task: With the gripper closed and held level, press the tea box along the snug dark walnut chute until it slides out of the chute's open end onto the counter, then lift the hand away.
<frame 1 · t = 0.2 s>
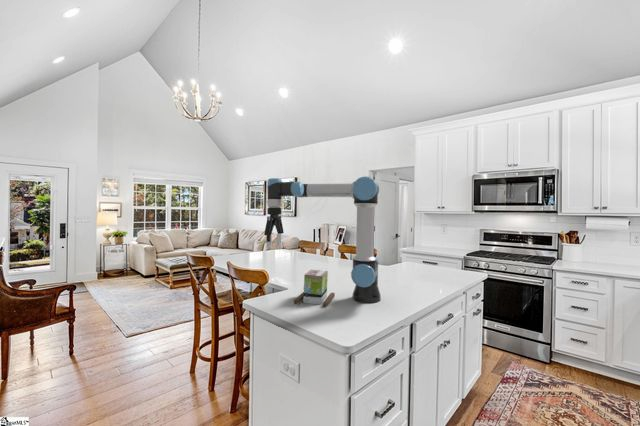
hand: (274, 246, 166), 27 cm above the counter, tool pointing down, fingers open, 13 cm apart
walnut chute: (315, 300, 162), on the counter
tea box: (315, 300, 163), on the counter
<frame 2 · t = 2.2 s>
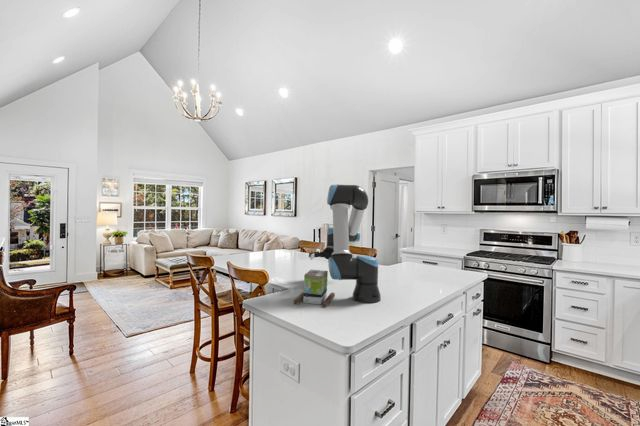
hand: (322, 258, 177), 20 cm above the counter, tool horizontal, fingers open, 13 cm apart
nothing on the counter moved.
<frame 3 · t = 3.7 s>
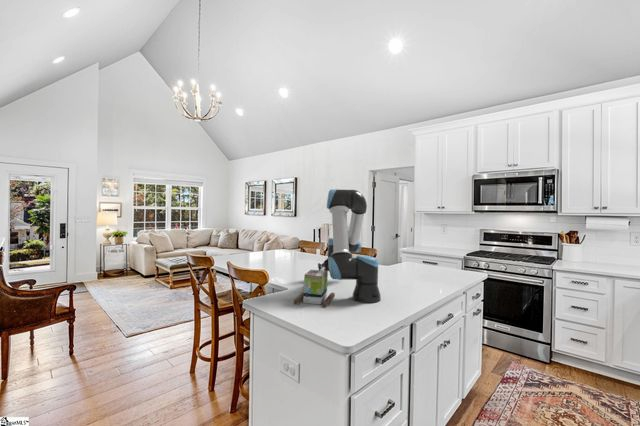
hand: (321, 271, 176), 12 cm above the counter, tool horizontal, fingers closed
nothing on the counter moved.
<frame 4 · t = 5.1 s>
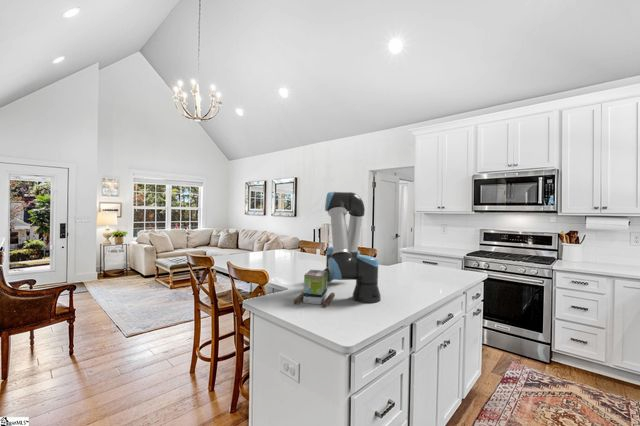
hand: (319, 282, 171), 7 cm above the counter, tool horizontal, fingers closed
tea box: (315, 300, 163), on the counter, touching gripper
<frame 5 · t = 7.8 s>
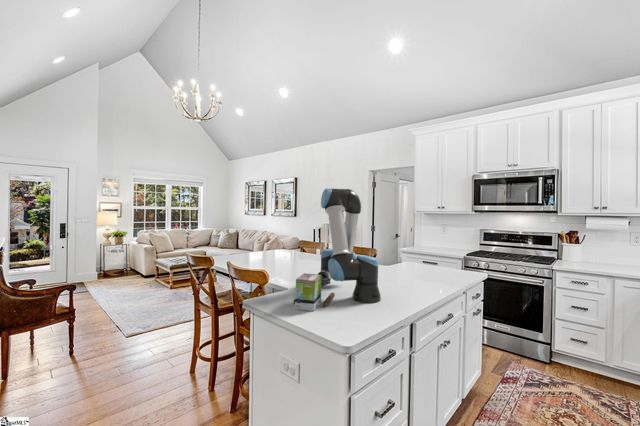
hand: (312, 287, 160), 7 cm above the counter, tool horizontal, fingers closed
tea box: (308, 306, 153), on the counter, touching gripper
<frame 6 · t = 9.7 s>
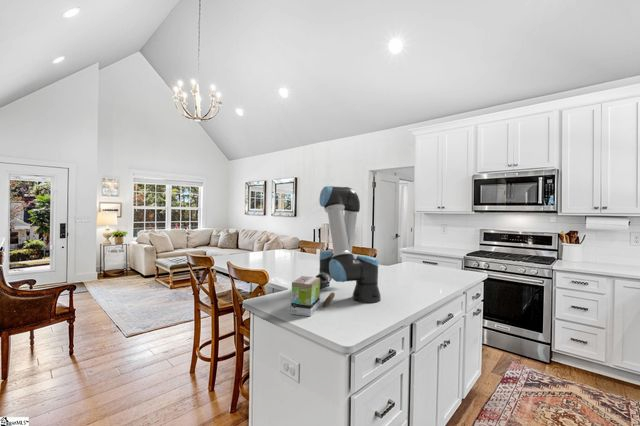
hand: (310, 290, 153), 7 cm above the counter, tool horizontal, fingers closed
tea box: (305, 310, 146), on the counter, touching gripper
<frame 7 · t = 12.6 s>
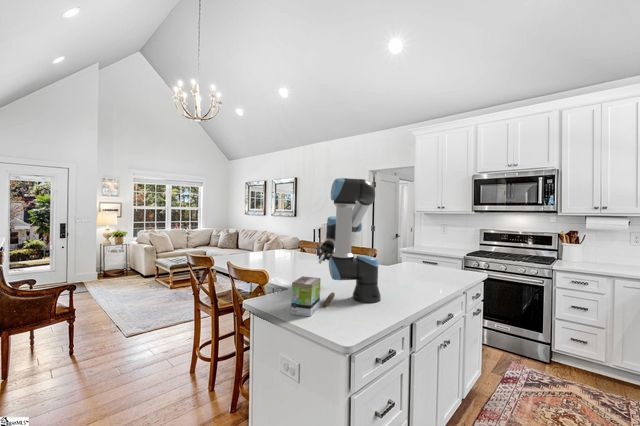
hand: (320, 261, 166), 20 cm above the counter, tool horizontal, fingers closed
tea box: (305, 311, 146), on the counter
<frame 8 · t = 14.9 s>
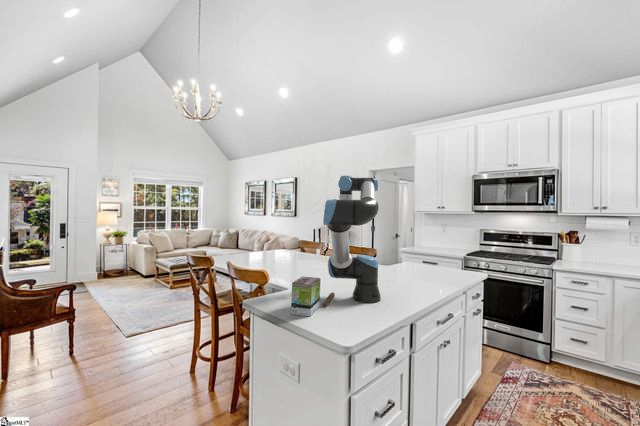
hand: (344, 240, 184), 29 cm above the counter, tool pointing down, fingers closed
nothing on the counter moved.
at the end: tea box inside the target area (1.9 cm from its centre), on the counter; tea box tilted 0°; tea box moved 18.1 cm from its start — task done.
